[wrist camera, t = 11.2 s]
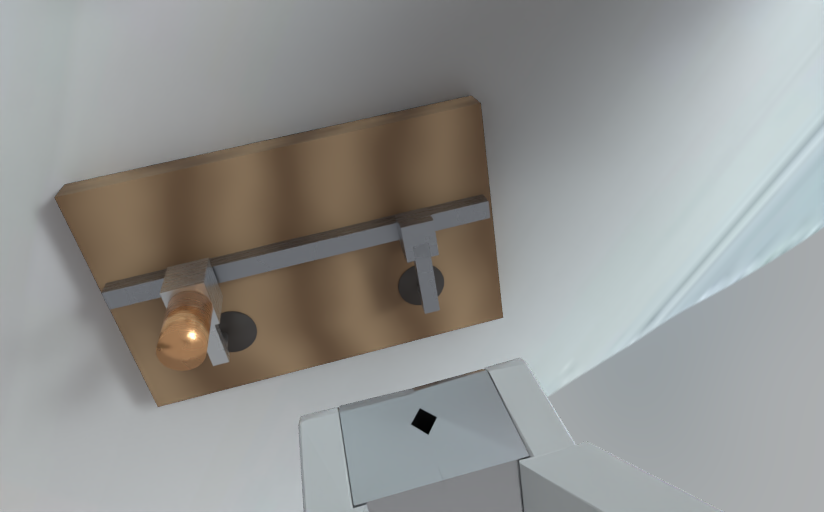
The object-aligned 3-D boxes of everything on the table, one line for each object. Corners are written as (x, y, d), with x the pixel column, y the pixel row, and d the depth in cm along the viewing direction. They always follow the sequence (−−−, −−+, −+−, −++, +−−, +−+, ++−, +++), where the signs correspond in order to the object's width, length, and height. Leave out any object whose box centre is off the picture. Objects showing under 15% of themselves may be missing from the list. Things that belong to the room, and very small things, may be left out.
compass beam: (481, 185, 39) (497, 205, 37) (491, 271, 43) (506, 295, 40) (102, 274, 37) (88, 302, 34) (142, 358, 40) (133, 390, 37)
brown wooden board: (471, 95, 38) (481, 103, 37) (494, 303, 46) (503, 318, 45) (64, 184, 36) (54, 197, 34) (162, 388, 44) (157, 407, 42)
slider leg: (210, 248, 37) (196, 323, 30) (242, 336, 41) (237, 422, 33) (170, 257, 37) (146, 335, 30) (206, 345, 40) (193, 433, 33)
